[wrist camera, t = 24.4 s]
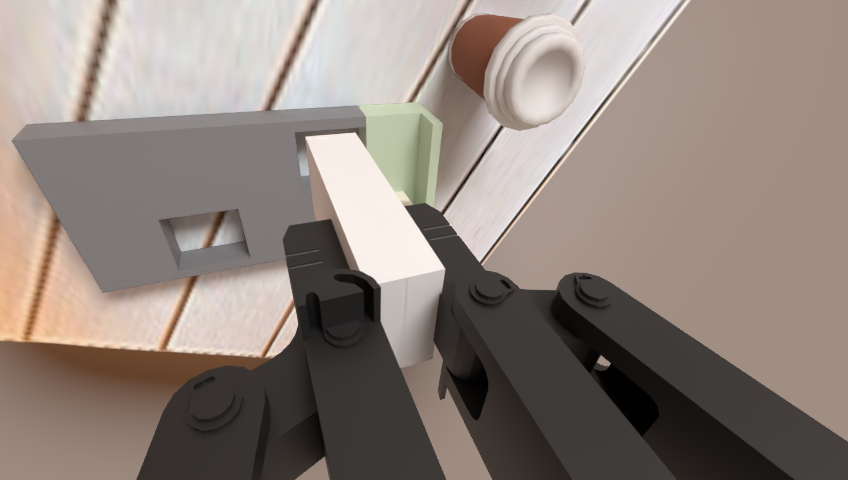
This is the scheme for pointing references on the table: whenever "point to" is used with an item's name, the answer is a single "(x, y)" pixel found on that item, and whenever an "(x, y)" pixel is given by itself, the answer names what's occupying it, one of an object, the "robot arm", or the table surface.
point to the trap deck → (207, 181)
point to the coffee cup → (519, 66)
